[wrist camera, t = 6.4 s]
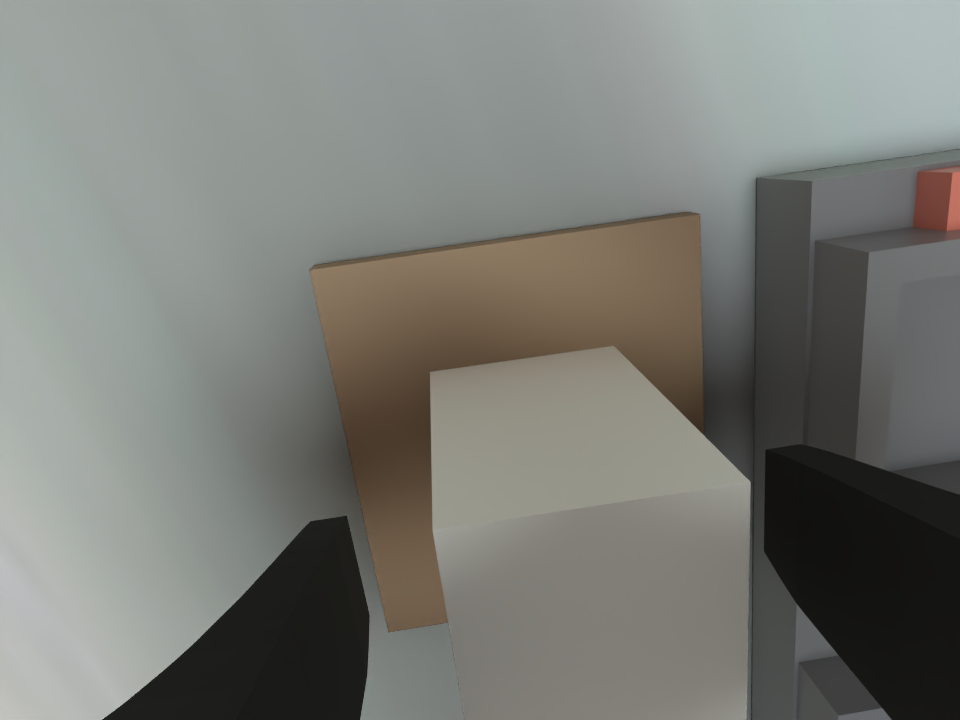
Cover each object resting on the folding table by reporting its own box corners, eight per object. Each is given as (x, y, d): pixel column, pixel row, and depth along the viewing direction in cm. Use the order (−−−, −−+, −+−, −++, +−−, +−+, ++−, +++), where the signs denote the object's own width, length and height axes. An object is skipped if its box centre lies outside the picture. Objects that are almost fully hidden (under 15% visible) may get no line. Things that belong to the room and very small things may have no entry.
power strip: (922, 898, 21) (1015, 1036, 18) (749, 930, 21) (811, 1076, 18) (1027, 139, 13) (1224, 133, 10) (757, 177, 13) (867, 184, 10)
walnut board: (696, 564, 16) (706, 579, 16) (389, 615, 16) (388, 632, 15) (688, 212, 13) (700, 214, 13) (314, 265, 13) (309, 269, 12)
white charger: (622, 506, 15) (746, 725, 9) (455, 532, 15) (473, 771, 9) (613, 345, 13) (749, 482, 8) (429, 371, 13) (432, 530, 8)
